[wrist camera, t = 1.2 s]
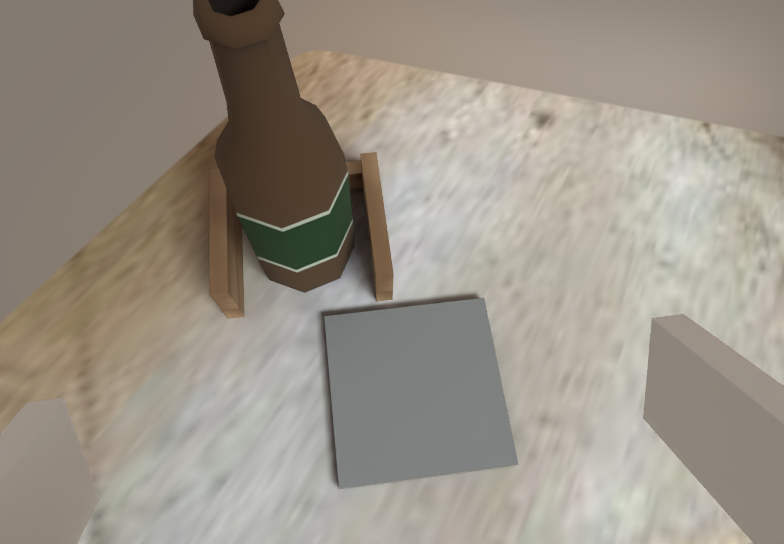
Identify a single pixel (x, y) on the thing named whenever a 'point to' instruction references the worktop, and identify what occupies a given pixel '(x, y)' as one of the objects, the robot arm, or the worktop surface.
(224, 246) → the cradle
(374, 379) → the coaster
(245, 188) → the beer bottle
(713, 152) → the worktop surface
